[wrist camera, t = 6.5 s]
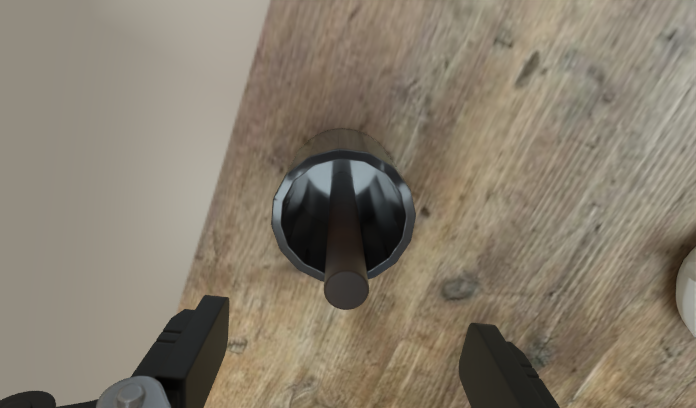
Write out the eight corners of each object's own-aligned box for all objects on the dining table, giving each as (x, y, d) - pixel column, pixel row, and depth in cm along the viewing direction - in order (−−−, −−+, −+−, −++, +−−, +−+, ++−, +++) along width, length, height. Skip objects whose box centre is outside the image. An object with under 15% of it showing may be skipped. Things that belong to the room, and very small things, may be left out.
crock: (285, 223, 32) (267, 276, 24) (294, 121, 30) (277, 140, 21) (384, 234, 33) (401, 290, 24) (402, 135, 30) (427, 159, 22)
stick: (329, 192, 31) (321, 308, 15) (332, 170, 30) (326, 268, 15) (351, 195, 31) (365, 312, 16) (355, 173, 30) (372, 273, 15)
